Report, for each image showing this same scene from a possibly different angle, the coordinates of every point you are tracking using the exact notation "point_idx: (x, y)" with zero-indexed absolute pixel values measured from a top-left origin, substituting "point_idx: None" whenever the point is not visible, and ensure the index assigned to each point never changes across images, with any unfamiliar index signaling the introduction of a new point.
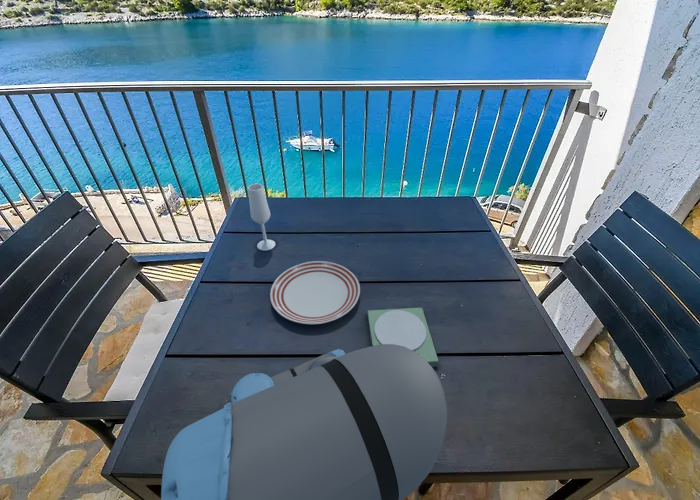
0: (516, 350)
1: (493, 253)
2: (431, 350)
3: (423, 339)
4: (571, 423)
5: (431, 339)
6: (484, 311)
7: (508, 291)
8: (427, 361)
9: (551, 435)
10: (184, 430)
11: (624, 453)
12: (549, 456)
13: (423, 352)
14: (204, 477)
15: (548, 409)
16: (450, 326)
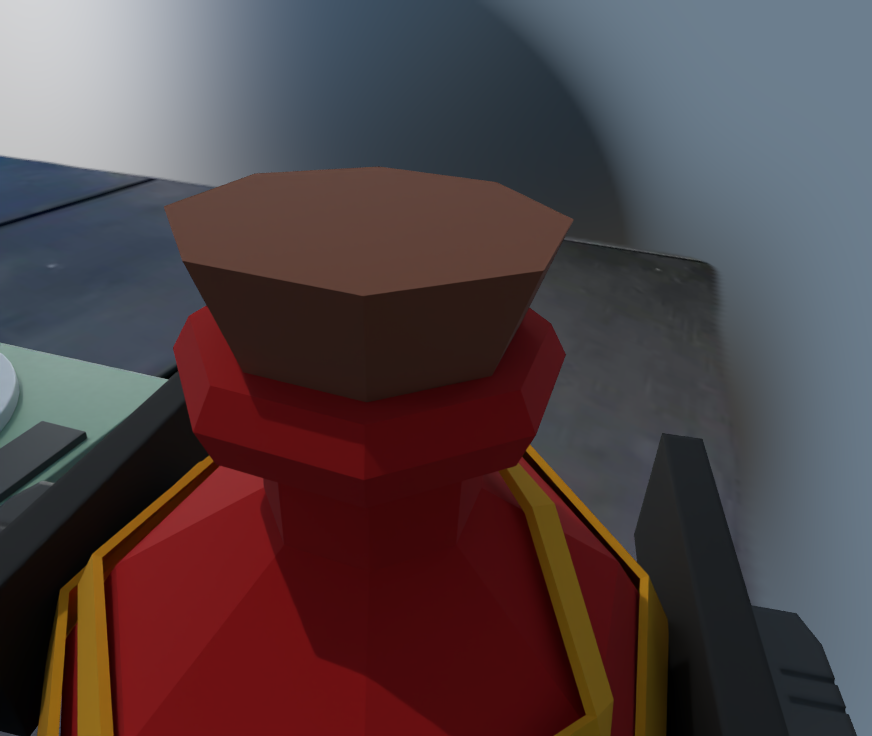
0: None
1: (17, 170)
2: (95, 377)
3: (3, 368)
4: (598, 277)
5: (47, 354)
6: (145, 244)
7: (154, 198)
8: (126, 415)
9: (625, 314)
10: None
11: (690, 257)
12: (692, 342)
13: (62, 406)
14: None
15: (544, 287)
16: (79, 317)
